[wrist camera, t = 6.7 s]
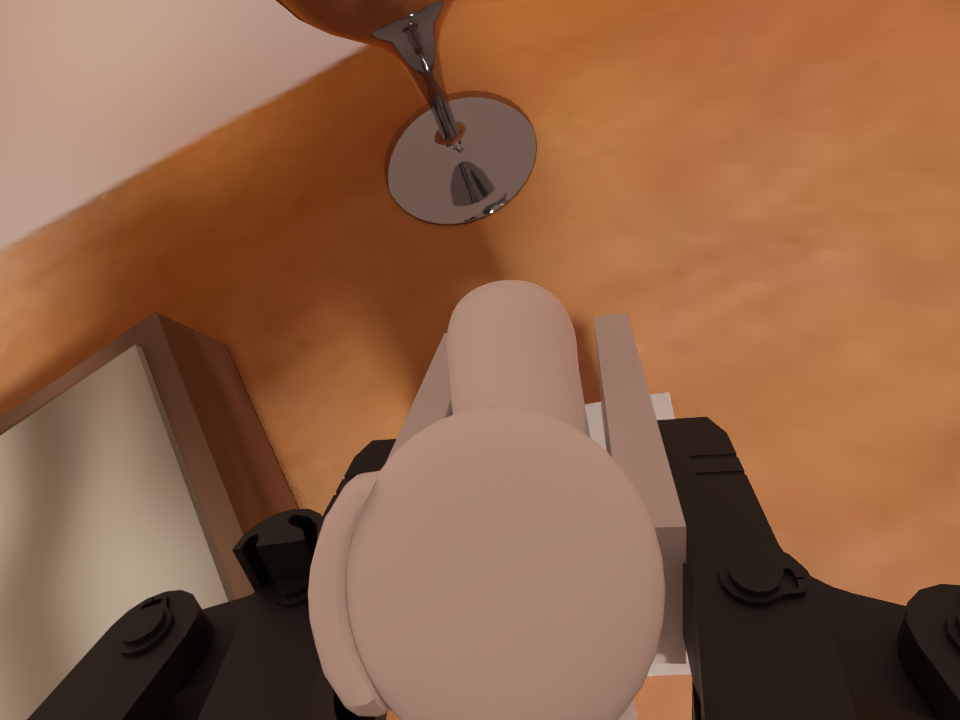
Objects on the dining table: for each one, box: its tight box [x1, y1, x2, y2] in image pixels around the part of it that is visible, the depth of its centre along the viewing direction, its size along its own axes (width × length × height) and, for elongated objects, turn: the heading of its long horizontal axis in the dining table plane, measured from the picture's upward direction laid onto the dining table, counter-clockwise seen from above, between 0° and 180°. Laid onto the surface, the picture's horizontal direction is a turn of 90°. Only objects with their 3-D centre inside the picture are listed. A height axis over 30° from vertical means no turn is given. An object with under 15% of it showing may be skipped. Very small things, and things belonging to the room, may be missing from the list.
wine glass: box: [276, 0, 537, 225], centre depth 17 cm, size 8×8×15 cm
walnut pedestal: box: [0, 312, 298, 720], centre depth 19 cm, size 13×13×4 cm
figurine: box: [308, 280, 691, 720], centre depth 11 cm, size 7×9×15 cm
